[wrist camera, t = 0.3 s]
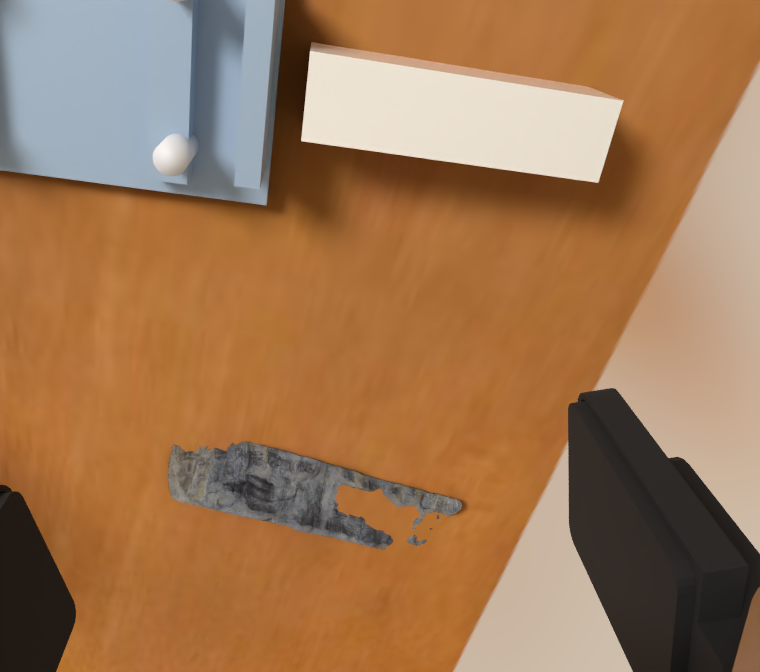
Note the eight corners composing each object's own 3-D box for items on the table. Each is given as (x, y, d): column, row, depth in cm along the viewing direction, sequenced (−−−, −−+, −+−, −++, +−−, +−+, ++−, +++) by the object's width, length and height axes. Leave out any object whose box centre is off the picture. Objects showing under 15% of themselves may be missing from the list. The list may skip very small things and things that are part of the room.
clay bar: (303, 121, 36) (301, 141, 32) (311, 41, 35) (310, 50, 30) (566, 159, 39) (598, 182, 34) (587, 86, 37) (623, 100, 32)
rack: (-120, 147, 35) (-186, 172, 31) (-172, -155, 29) (-264, -179, 25) (267, 199, 38) (260, 229, 33) (291, -66, 32) (285, -74, 28)
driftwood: (156, 486, 48) (150, 507, 46) (183, 411, 45) (177, 430, 43) (420, 552, 53) (424, 573, 51) (458, 489, 50) (464, 509, 48)
